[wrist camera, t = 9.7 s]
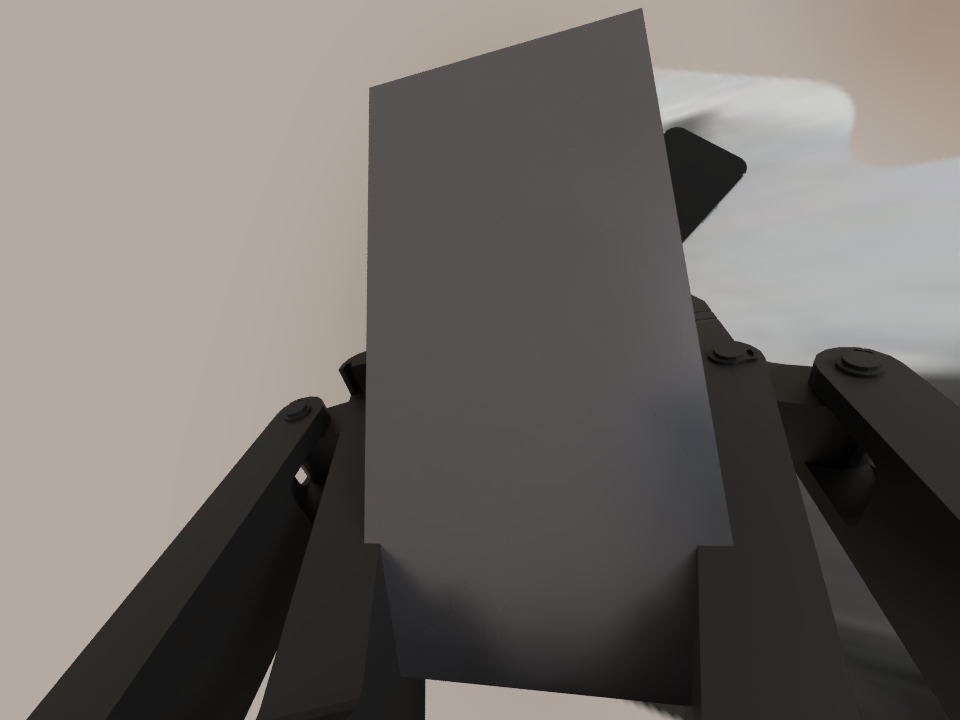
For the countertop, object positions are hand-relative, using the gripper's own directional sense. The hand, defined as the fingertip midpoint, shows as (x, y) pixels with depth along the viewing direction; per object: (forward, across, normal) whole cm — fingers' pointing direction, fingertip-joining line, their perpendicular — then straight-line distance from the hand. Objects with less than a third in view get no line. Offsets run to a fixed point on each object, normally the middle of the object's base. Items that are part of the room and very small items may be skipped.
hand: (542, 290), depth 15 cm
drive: (0, 0, -5) cm, 5 cm away
